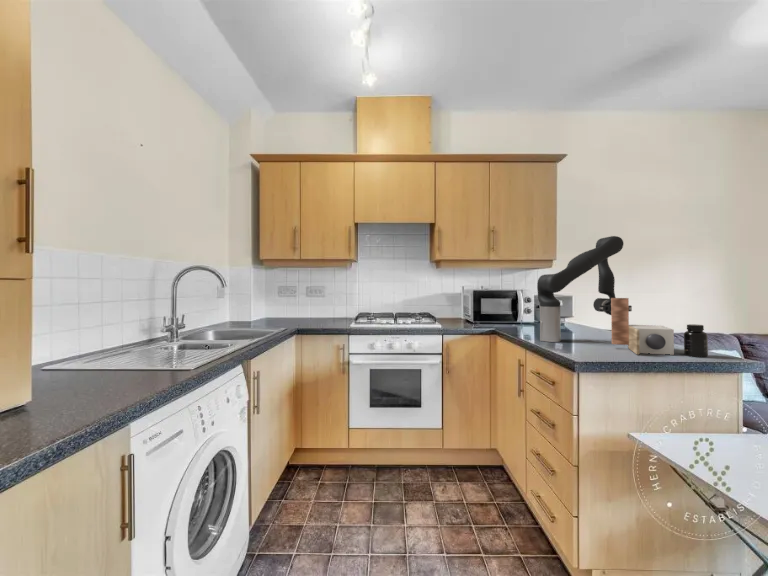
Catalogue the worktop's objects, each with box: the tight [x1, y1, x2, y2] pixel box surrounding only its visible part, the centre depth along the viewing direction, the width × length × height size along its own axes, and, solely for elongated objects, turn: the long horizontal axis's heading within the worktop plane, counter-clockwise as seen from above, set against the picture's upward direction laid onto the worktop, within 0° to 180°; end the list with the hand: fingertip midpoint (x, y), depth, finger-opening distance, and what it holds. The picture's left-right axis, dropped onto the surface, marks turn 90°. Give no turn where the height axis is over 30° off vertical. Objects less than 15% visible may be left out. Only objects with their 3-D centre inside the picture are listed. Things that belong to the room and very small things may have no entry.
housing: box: [629, 324, 675, 356], centre depth 142 cm, size 12×16×10 cm
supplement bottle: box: [683, 324, 709, 358], centre depth 132 cm, size 7×7×12 cm
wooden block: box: [610, 297, 641, 355], centre depth 141 cm, size 7×14×22 cm, turn 156°
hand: (619, 309), depth 148 cm, fingers closed
